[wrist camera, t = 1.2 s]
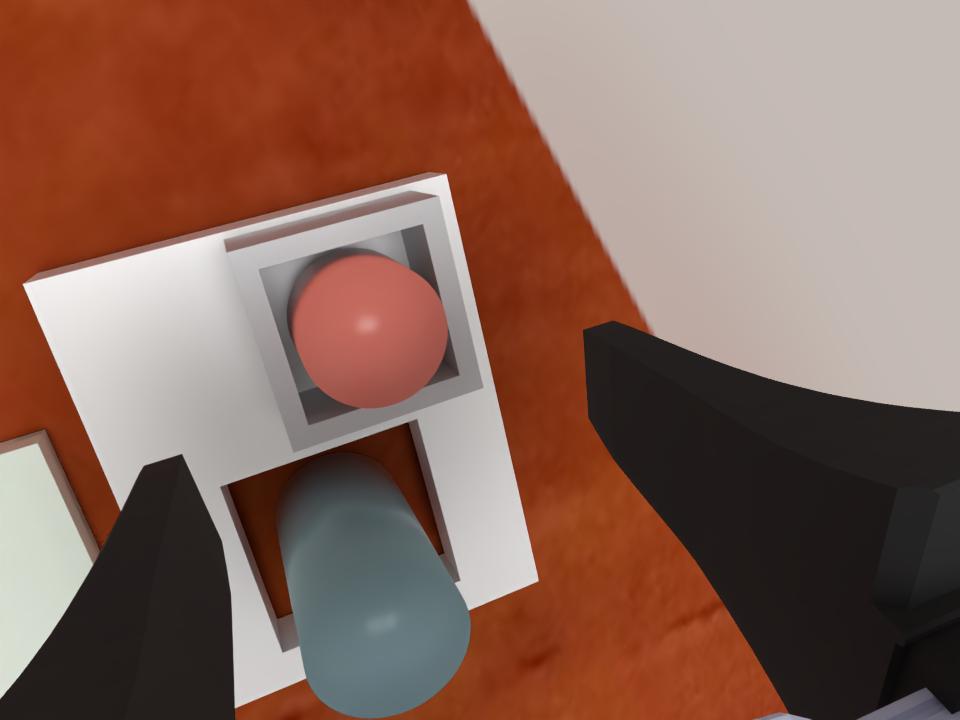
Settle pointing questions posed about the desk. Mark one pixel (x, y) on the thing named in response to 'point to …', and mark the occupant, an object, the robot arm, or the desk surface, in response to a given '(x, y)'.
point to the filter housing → (283, 386)
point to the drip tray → (36, 549)
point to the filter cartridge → (366, 589)
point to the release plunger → (366, 327)
